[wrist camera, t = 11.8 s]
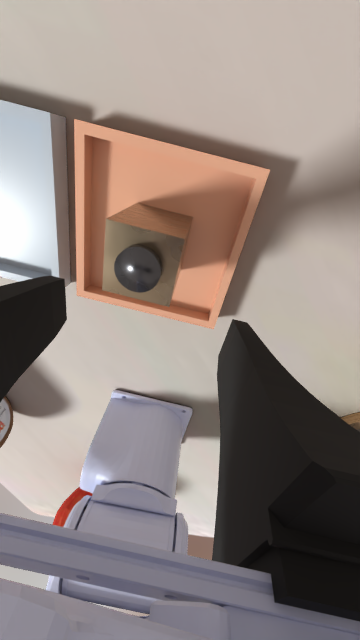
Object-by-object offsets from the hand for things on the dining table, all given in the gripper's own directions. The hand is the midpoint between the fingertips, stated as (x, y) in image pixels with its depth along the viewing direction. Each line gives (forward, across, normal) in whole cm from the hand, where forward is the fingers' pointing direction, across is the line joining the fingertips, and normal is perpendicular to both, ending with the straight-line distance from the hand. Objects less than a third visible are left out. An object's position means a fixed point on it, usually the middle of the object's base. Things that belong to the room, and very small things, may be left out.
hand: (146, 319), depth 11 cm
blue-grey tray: (+10, +14, -1) cm, 18 cm away
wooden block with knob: (+10, +1, -1) cm, 10 cm away
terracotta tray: (+10, +1, -1) cm, 10 cm away
